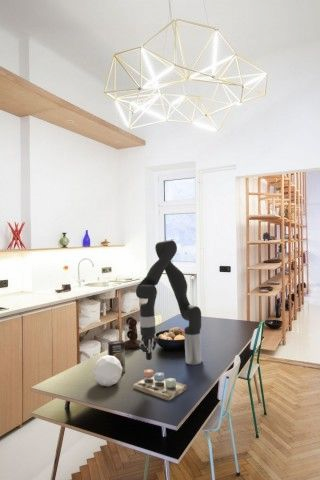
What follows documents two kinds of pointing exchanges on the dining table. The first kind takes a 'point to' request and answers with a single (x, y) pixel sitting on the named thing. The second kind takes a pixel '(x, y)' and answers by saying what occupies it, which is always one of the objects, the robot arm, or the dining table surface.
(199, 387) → the dining table surface
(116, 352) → the coffee box
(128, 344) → the dark brown tall piece
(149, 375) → the two dot button
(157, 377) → the three dot button
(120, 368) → the geometric shape
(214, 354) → the dining table surface
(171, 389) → the button board
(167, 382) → the pale green button
